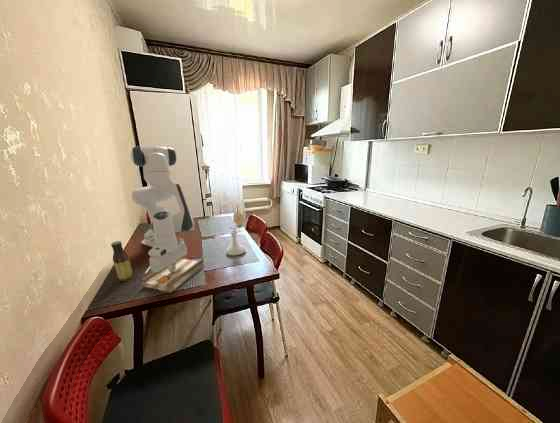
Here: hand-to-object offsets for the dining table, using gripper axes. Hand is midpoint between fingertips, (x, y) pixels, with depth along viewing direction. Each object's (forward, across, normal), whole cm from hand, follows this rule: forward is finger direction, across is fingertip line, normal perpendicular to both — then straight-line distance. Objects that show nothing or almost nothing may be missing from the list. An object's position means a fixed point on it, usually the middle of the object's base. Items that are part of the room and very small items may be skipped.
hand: (172, 270), depth 116 cm
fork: (+4, -7, -21) cm, 23 cm away
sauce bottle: (+4, +8, -22) cm, 24 cm away
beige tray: (+3, -1, +1) cm, 3 cm away
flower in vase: (+3, -32, +18) cm, 37 cm away
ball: (+1, +7, +1) cm, 7 cm away
